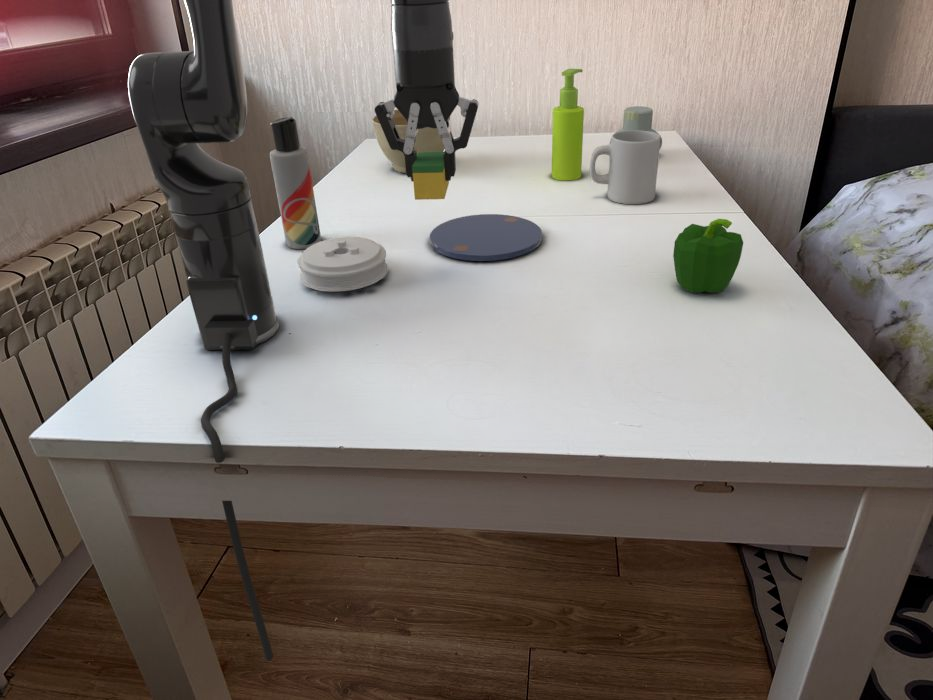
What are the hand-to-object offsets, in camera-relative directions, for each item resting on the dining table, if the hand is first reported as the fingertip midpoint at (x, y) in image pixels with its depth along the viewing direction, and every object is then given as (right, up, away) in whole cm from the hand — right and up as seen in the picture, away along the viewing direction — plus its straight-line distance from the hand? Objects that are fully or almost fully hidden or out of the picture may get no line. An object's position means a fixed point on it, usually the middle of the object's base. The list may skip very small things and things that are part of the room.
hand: (431, 179), depth 95 cm
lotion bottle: (-22, -6, +20) cm, 30 cm away
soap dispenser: (+25, +12, +45) cm, 53 cm away
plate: (+8, -6, +17) cm, 20 cm away
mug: (+33, +4, +33) cm, 47 cm away
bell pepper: (+37, -15, 0) cm, 40 cm away
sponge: (0, -2, +1) cm, 2 cm away
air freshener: (+41, +18, +54) cm, 70 cm away
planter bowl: (-6, +16, +55) cm, 57 cm away
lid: (-13, -13, +7) cm, 20 cm away
